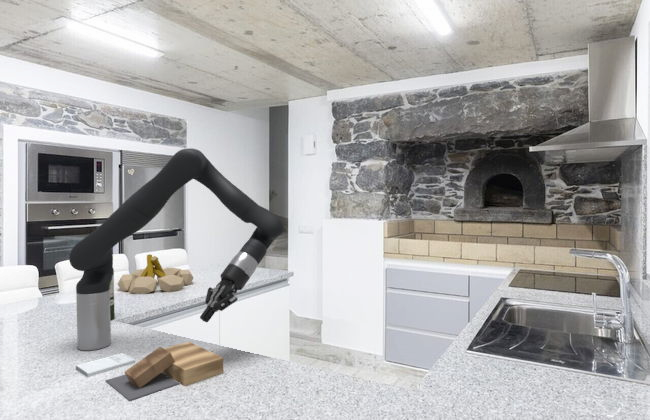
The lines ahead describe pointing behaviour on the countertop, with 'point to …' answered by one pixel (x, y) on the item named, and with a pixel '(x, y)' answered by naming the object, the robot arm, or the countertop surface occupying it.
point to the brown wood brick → (149, 367)
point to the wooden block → (193, 363)
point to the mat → (134, 392)
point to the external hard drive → (104, 364)
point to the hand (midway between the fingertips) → (203, 320)
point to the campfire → (146, 283)
